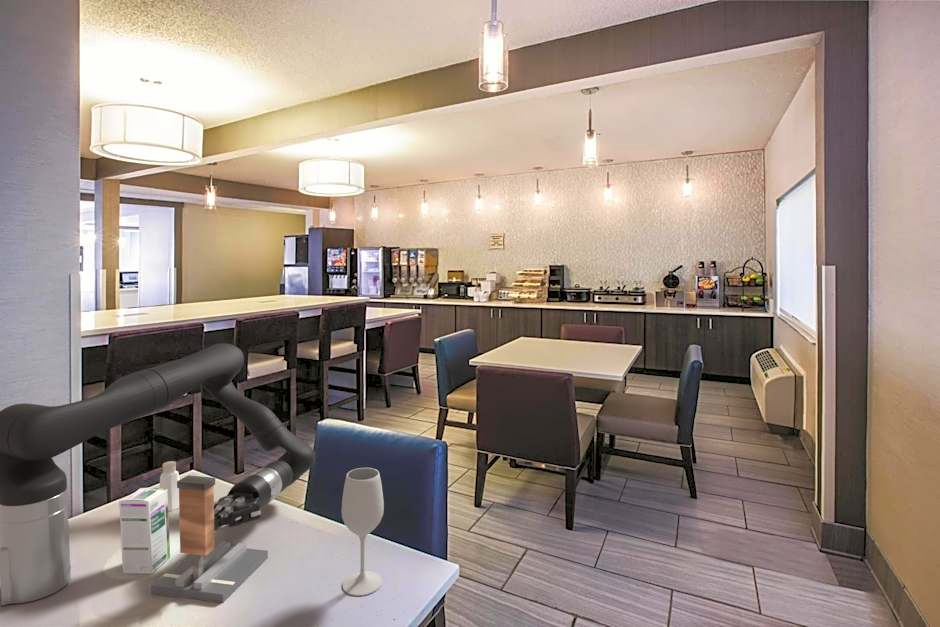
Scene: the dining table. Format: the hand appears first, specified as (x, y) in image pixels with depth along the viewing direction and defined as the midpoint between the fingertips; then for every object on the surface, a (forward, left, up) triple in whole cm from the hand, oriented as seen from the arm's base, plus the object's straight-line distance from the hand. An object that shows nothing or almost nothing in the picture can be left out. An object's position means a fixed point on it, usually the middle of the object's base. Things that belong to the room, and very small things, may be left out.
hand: (201, 531), depth 90 cm
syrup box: (-7, +13, -10) cm, 18 cm away
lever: (-1, -1, -8) cm, 8 cm away
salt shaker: (+1, +38, -10) cm, 39 cm away
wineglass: (+23, -18, -10) cm, 31 cm away
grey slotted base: (+2, +2, -10) cm, 10 cm away
